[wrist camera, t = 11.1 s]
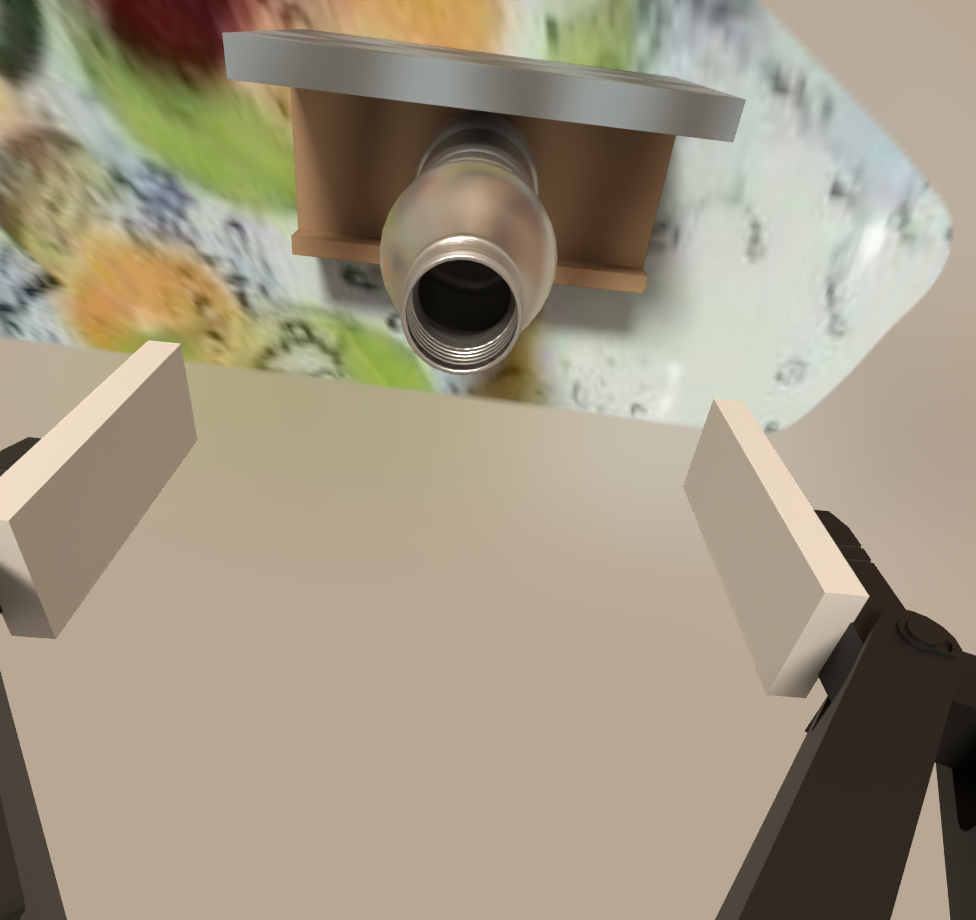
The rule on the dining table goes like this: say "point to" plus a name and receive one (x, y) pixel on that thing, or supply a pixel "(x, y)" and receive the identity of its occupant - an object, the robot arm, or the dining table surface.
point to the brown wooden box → (478, 87)
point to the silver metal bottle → (469, 244)
